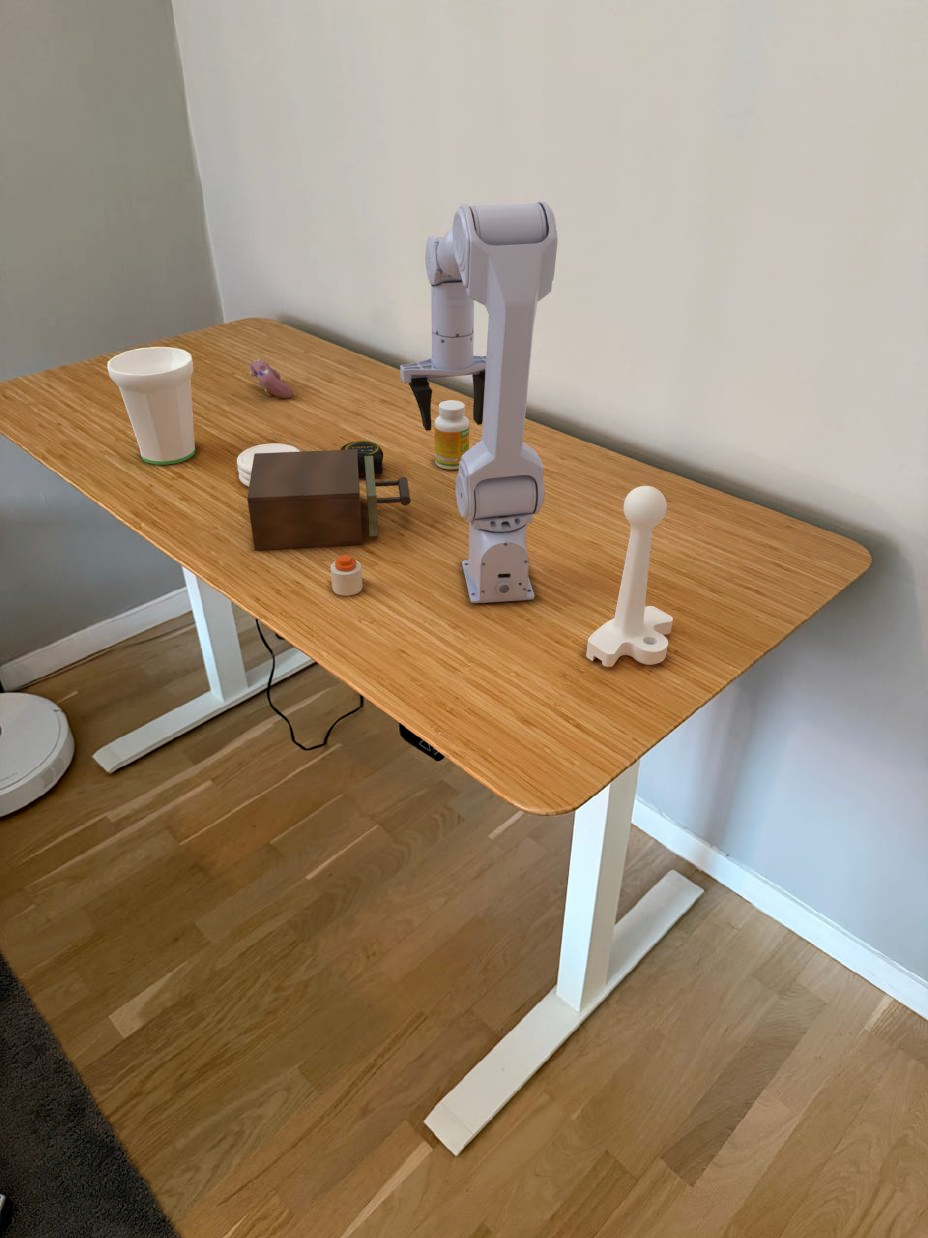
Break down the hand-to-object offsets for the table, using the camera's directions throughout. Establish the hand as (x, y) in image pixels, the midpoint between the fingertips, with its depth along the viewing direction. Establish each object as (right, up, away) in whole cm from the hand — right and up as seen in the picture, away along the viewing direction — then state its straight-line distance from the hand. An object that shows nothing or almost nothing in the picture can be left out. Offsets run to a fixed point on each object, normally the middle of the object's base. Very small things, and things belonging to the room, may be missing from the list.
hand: (452, 424), depth 129 cm
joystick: (+21, -32, -26) cm, 46 cm away
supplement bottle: (0, -3, +13) cm, 13 cm away
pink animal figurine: (-34, +14, +36) cm, 52 cm away
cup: (-46, -2, +15) cm, 48 cm away
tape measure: (-14, -6, +10) cm, 18 cm away
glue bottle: (-13, -24, -16) cm, 32 cm away
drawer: (-15, -14, -3) cm, 20 cm away
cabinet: (-20, -15, -3) cm, 25 cm away
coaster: (-28, -6, +8) cm, 30 cm away
